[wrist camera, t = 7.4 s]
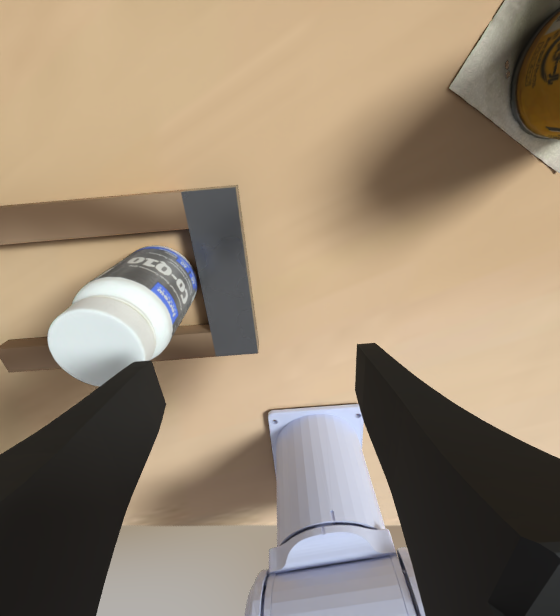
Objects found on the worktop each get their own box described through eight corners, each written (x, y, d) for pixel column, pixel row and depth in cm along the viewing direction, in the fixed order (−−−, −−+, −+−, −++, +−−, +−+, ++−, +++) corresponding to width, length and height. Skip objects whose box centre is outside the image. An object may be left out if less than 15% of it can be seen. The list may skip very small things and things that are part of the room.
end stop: (258, 343, 22) (258, 353, 21) (218, 346, 23) (216, 356, 21) (237, 185, 18) (235, 187, 16) (186, 189, 18) (180, 191, 16)
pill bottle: (212, 274, 20) (176, 346, 12) (175, 322, 22) (122, 411, 14) (148, 227, 19) (63, 277, 11) (113, 282, 20) (17, 358, 13)
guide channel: (218, 346, 23) (216, 356, 21) (21, 362, 23) (9, 372, 22) (186, 189, 18) (180, 191, 16) (-66, 211, 18) (-88, 215, 17)
